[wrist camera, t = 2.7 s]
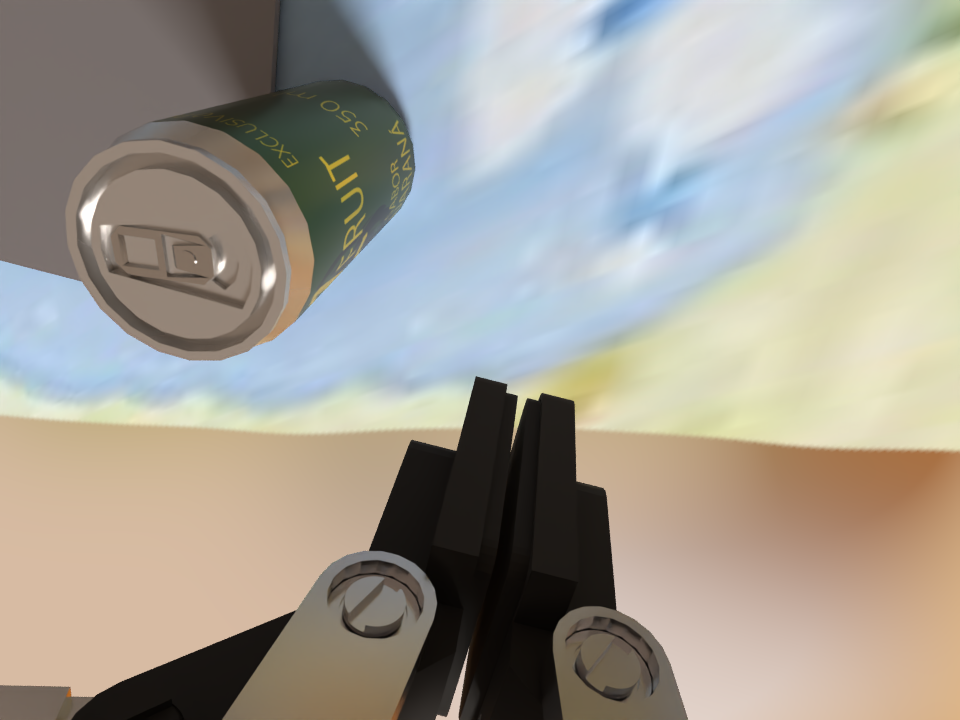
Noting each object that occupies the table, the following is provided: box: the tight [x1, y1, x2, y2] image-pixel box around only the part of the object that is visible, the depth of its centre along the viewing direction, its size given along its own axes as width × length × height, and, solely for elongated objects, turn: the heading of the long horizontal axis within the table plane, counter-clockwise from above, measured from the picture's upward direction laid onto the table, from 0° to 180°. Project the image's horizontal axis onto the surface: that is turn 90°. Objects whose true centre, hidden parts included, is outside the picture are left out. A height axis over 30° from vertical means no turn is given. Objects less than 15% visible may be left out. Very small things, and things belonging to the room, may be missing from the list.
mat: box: [0, 0, 280, 281], centre depth 24 cm, size 14×16×1 cm
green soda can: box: [65, 80, 415, 360], centre depth 19 cm, size 5×5×12 cm
